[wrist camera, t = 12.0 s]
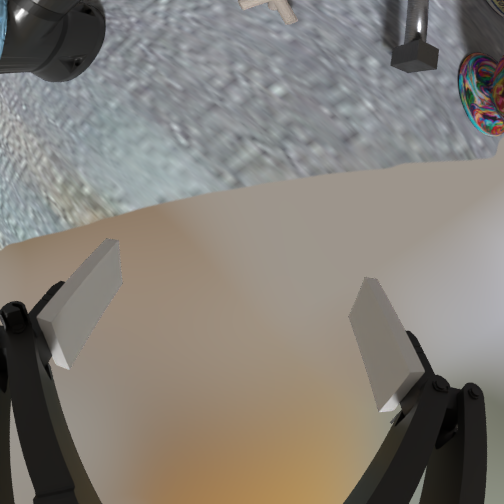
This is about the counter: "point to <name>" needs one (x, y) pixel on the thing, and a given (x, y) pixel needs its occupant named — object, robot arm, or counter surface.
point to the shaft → (415, 41)
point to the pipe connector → (273, 8)
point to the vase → (483, 92)
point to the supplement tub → (497, 6)
